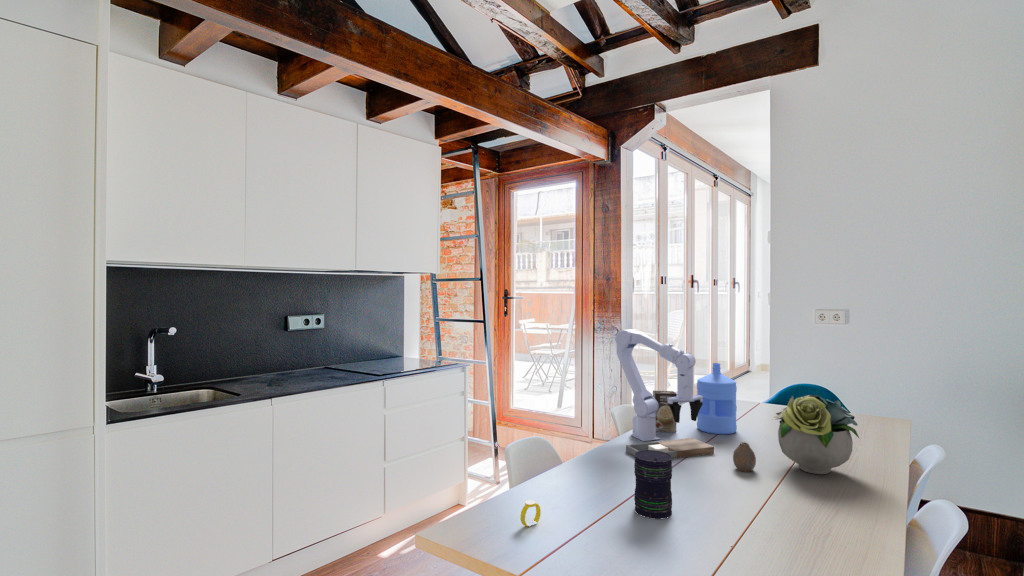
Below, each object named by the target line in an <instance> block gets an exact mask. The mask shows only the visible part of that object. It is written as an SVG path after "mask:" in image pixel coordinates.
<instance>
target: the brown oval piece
mask: <svg viewBox="0 0 1024 576" xmlns="http://www.w3.org/2000/svg"><path fill="white" fill-rule="evenodd" d="M732 461H733V465H734V467H735V468H736V469H737V470H738V471H740V472H744V473H745V472H746V473H747V472H751V471H753V470H754V469H755V467H756V463H757V457H756V453H755V451H754V450H753V449H752V448H751V446H750V445H749V443H748V442H744V441H743V442H740V443H739V445H738V446H737V447H736V448H735V449H734V451H733V454H732Z"/></svg>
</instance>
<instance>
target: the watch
mask: <svg viewBox="0 0 1024 576" xmlns="http://www.w3.org/2000/svg"><path fill="white" fill-rule="evenodd" d="M533 507H535V516H534V518H533V520H534V521H536V522H537V523H539V521H540V518H541V514H542V513H541V511H542V510H541V507H540V505H539V503H537V501H536V500H533V499H527V500H526V501H525V502H524V505H523V507H522V509H521V512H520V522H521V525H522V526H524V525H525V526H524V527H526V526H528V525H527V524H528V523H527V522H526V514H527V511H528V509H529V508H533Z"/></svg>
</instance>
